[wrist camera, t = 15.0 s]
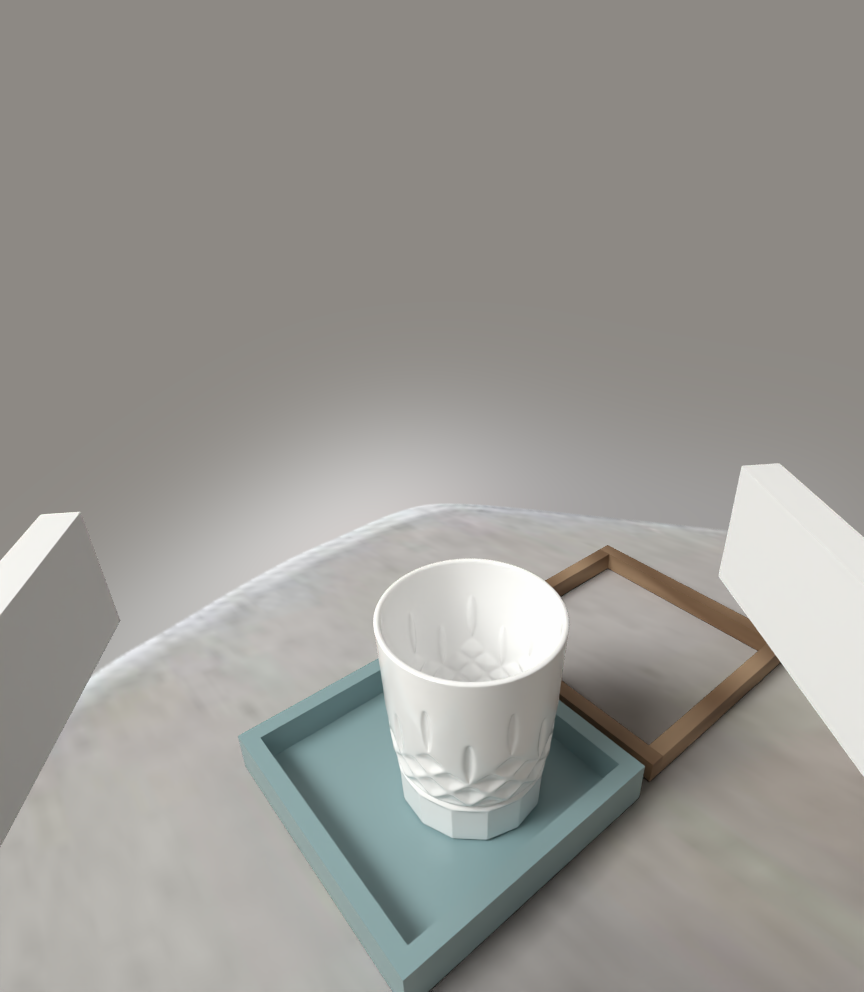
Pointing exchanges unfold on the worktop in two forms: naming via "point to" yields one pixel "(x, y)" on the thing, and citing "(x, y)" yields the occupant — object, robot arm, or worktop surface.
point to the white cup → (471, 690)
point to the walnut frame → (695, 604)
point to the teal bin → (422, 827)
